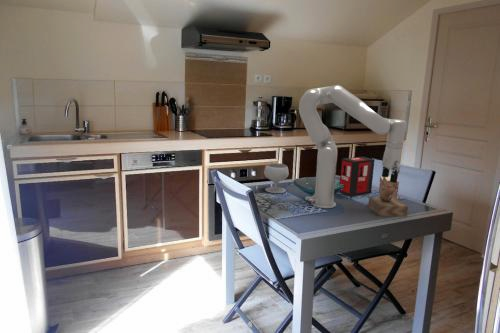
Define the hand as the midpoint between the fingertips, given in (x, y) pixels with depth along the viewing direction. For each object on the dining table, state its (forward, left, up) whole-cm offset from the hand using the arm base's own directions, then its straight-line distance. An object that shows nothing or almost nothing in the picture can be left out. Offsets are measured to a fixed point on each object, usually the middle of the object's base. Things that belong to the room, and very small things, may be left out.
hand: (388, 179), depth 188 cm
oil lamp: (+1, 0, -12) cm, 12 cm away
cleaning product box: (-5, +31, -17) cm, 35 cm away
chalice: (-51, +33, -17) cm, 63 cm away
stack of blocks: (+11, +24, -17) cm, 31 cm away
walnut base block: (+1, 0, -16) cm, 16 cm away
